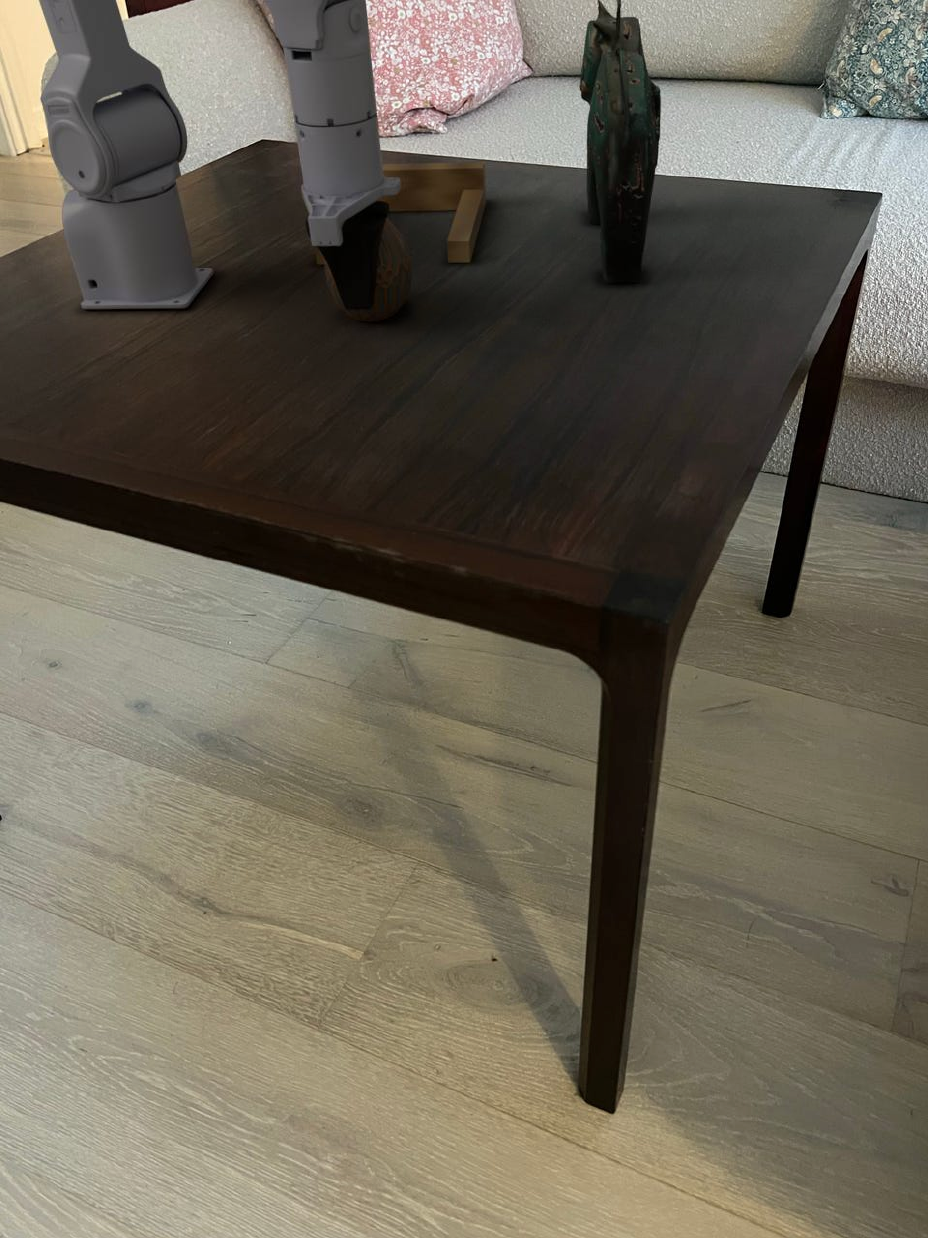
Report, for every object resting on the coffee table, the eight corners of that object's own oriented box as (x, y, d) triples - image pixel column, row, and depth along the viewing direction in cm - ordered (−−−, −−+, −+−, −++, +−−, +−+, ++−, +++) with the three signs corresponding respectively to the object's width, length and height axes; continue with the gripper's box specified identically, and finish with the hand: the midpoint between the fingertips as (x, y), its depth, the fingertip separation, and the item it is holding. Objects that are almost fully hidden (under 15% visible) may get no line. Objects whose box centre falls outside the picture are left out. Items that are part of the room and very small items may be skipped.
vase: (383, 335, 80) (370, 221, 74) (314, 320, 83) (297, 209, 77) (431, 303, 84) (423, 193, 78) (364, 290, 87) (351, 183, 82)
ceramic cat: (575, 209, 100) (579, -30, 87) (642, 206, 100) (655, -34, 87) (587, 288, 85) (594, 13, 72) (665, 285, 84) (686, 8, 72)
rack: (317, 264, 92) (310, 219, 90) (350, 205, 104) (345, 164, 102) (470, 262, 91) (468, 217, 88) (486, 203, 103) (484, 161, 100)
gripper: (374, 144, 64) (395, 347, 72) (408, 87, 75) (423, 269, 83) (265, 147, 64) (299, 347, 73) (315, 91, 75) (339, 271, 84)
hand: (359, 306), depth 78 cm, fingers closed
